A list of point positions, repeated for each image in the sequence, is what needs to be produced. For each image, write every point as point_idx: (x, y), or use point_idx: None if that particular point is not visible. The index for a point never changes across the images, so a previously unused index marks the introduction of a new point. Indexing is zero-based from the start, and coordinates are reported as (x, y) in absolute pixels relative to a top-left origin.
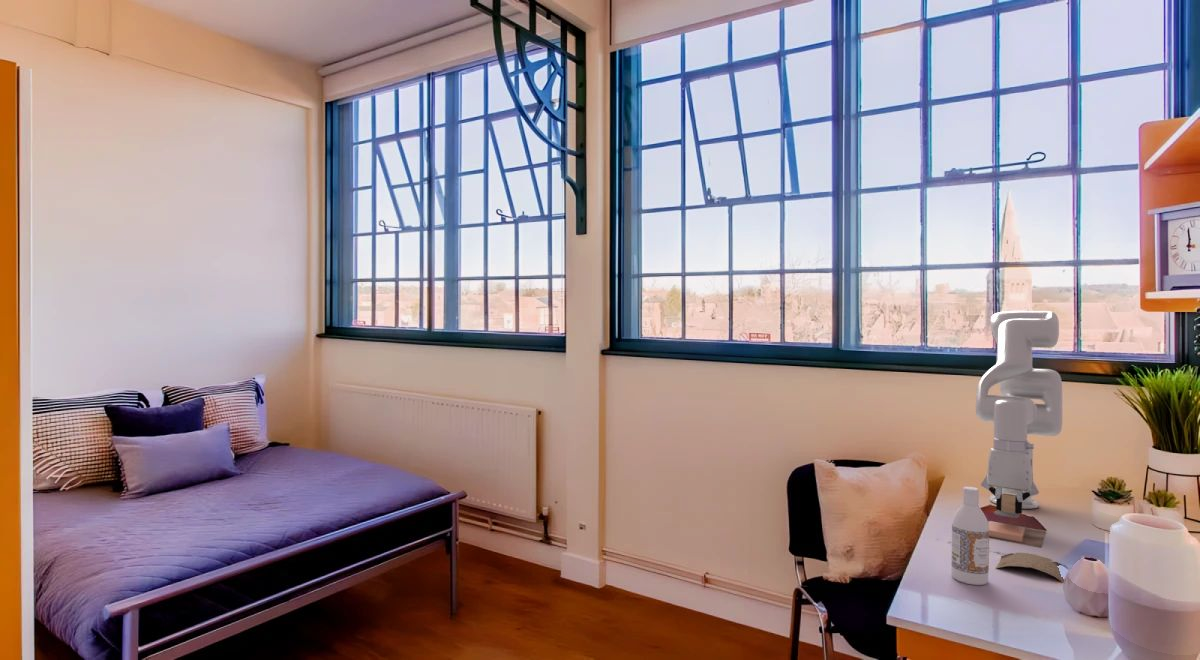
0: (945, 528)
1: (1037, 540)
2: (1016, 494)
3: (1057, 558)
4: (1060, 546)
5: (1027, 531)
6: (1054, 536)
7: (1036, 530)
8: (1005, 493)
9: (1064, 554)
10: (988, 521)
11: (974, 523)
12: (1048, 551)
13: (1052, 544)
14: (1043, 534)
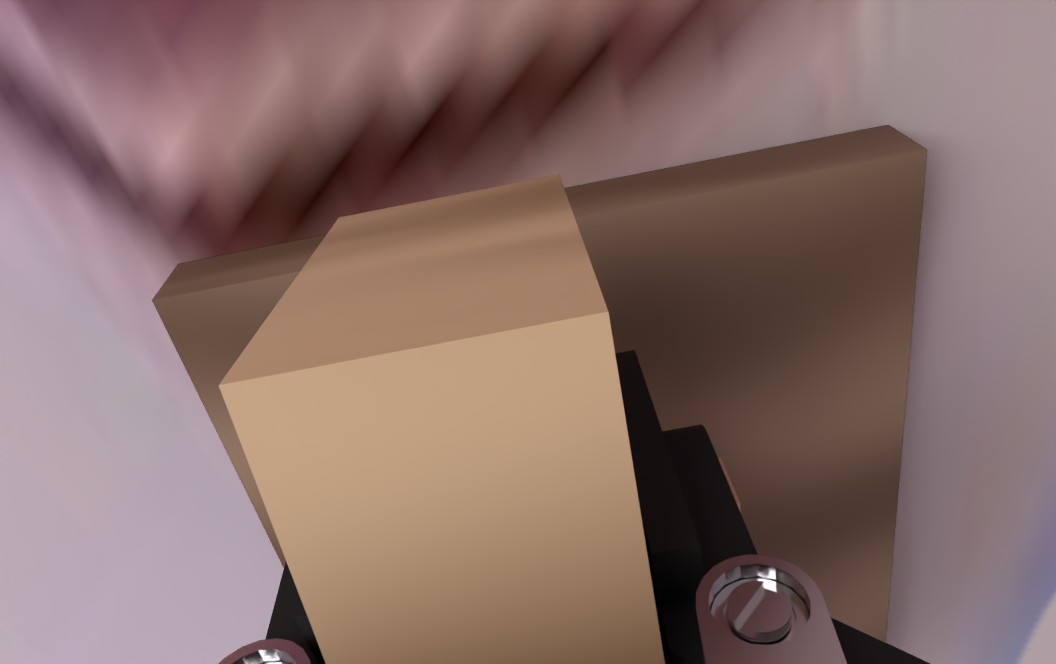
0: (46, 645)
1: (845, 570)
2: (589, 397)
3: (963, 656)
4: (1017, 369)
5: (726, 366)
6: (991, 9)
7: (814, 233)
8: (371, 652)
9: (1023, 548)
10: (229, 322)
11: None
12: (907, 570)
13: (947, 366)
14: (896, 336)
